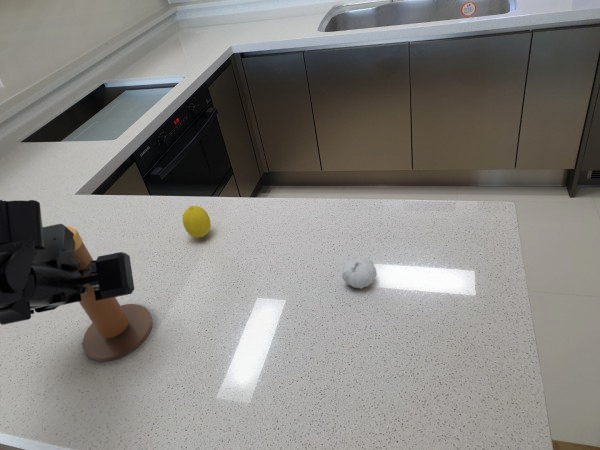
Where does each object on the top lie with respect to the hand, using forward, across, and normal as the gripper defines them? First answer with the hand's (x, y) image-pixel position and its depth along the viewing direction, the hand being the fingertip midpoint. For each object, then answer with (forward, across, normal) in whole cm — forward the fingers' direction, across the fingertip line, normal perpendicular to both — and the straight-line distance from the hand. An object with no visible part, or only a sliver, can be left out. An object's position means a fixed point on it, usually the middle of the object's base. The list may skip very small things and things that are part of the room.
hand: (94, 285), depth 76 cm
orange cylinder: (+5, 0, +7) cm, 9 cm away
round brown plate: (+7, 0, +8) cm, 11 cm away
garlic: (+7, -43, +8) cm, 45 cm away
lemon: (+23, -14, -8) cm, 28 cm away
